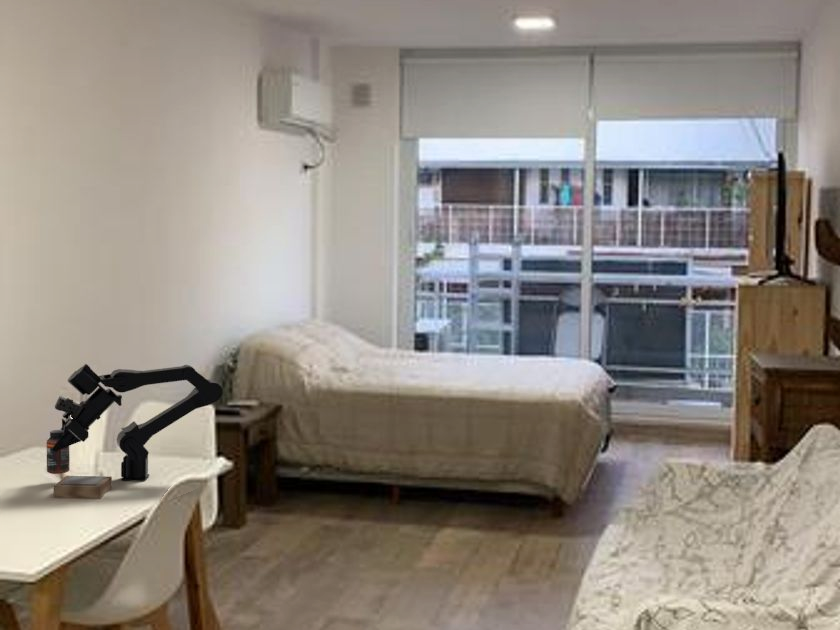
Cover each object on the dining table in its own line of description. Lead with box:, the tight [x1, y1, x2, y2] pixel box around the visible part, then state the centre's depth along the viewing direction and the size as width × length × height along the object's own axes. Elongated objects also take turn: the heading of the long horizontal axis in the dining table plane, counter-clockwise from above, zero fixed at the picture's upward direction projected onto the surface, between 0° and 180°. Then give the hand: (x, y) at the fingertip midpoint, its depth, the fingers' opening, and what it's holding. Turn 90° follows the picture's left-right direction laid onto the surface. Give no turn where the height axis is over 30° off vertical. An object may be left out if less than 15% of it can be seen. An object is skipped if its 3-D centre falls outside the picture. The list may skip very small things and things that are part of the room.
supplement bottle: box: [46, 429, 71, 475], centre depth 304 cm, size 6×6×11 cm
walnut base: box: [52, 475, 113, 499], centre depth 295 cm, size 12×12×3 cm
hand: (52, 448), depth 304 cm, fingers closed on supplement bottle, 6 cm apart
